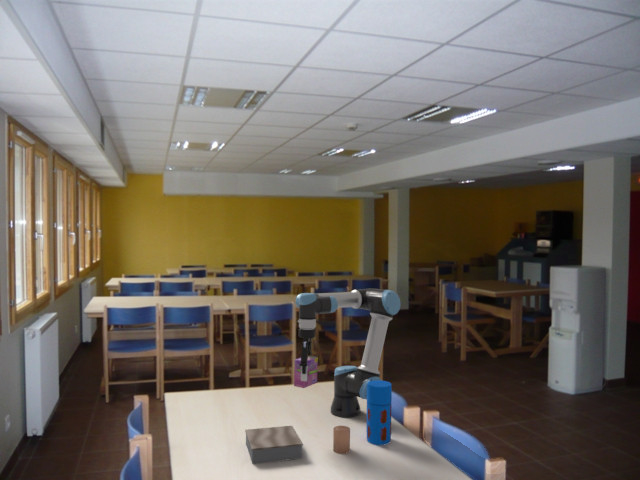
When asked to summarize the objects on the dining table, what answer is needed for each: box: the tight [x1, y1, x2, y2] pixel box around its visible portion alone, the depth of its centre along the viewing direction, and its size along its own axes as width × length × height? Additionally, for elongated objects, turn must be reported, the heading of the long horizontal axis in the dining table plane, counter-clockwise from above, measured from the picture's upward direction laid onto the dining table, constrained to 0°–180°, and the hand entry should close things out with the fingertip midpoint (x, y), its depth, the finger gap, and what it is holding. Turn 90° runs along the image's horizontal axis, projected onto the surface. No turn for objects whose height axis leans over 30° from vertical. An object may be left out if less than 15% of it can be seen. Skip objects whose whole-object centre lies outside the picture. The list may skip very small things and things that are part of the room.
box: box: [293, 355, 319, 389], centre depth 232 cm, size 10×6×12 cm, turn 147°
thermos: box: [365, 379, 393, 446], centre depth 230 cm, size 11×11×25 cm
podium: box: [244, 425, 304, 464], centre depth 217 cm, size 21×21×6 cm
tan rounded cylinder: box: [332, 425, 351, 455], centre depth 219 cm, size 7×7×9 cm
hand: (305, 377), depth 232 cm, fingers closed on box, 12 cm apart
